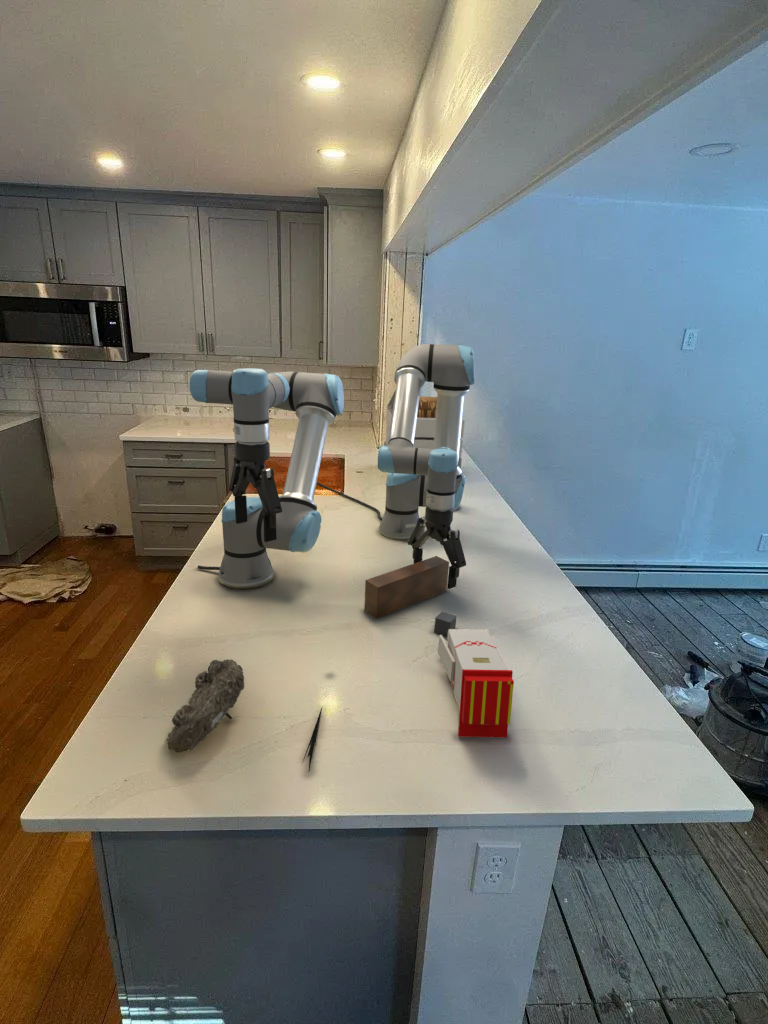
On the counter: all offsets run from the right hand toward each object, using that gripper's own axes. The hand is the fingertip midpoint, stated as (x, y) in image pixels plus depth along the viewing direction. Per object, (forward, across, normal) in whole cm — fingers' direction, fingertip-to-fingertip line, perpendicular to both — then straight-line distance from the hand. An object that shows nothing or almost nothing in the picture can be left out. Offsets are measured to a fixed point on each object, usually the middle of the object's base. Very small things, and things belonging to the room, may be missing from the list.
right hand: (433, 578), depth 159 cm
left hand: (-21, -13, -48) cm, 54 cm away
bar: (+4, 0, -10) cm, 10 cm away
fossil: (+5, +11, -71) cm, 72 cm away
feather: (+4, +24, -56) cm, 61 cm away
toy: (+4, +37, -26) cm, 45 cm away
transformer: (+2, -90, +82) cm, 122 cm away
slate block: (+4, +17, -13) cm, 21 cm away
